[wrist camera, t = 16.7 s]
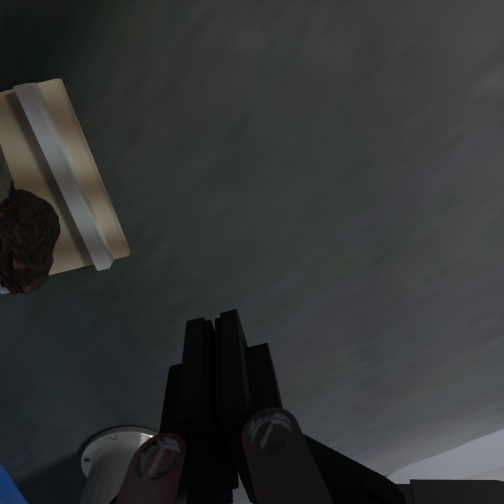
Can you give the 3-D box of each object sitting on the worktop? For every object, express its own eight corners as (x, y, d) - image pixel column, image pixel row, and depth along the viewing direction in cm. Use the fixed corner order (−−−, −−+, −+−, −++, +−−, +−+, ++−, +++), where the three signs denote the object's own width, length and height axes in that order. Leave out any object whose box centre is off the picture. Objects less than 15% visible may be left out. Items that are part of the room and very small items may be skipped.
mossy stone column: (-66, 96, 31) (-121, 98, 26) (16, 84, 31) (-22, 83, 26) (18, 280, 38) (-11, 310, 33) (84, 269, 39) (64, 297, 33)
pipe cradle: (130, 251, 39) (124, 264, 37) (3, 282, 39) (-14, 297, 37) (61, 78, 32) (46, 78, 29) (-95, 117, 32) (-125, 120, 29)
